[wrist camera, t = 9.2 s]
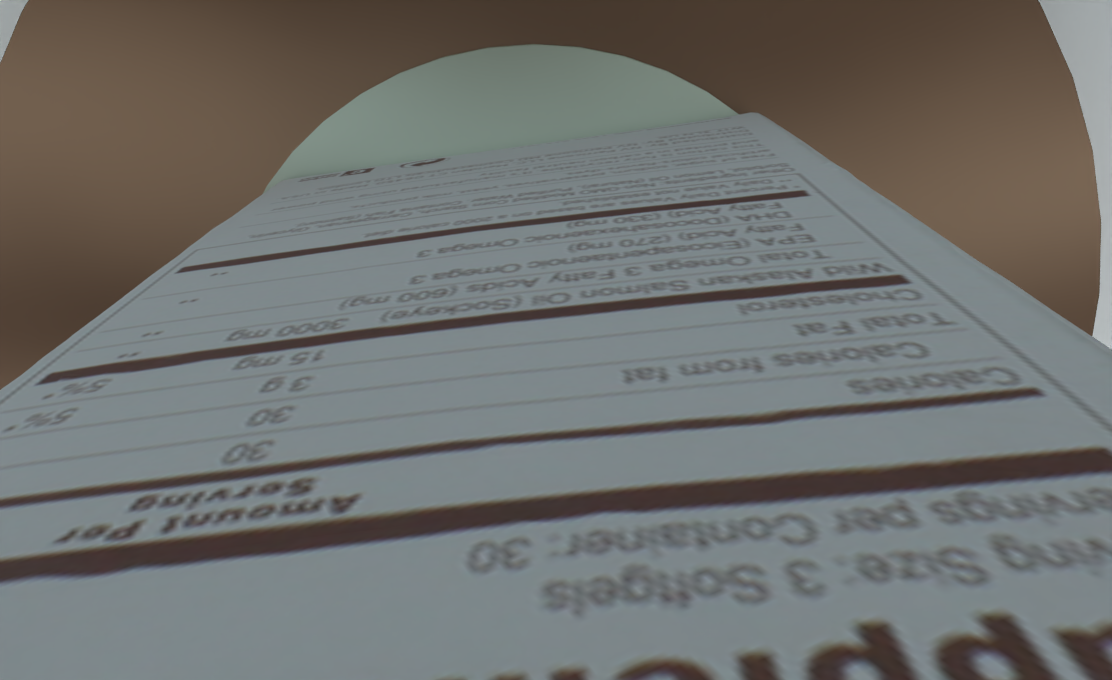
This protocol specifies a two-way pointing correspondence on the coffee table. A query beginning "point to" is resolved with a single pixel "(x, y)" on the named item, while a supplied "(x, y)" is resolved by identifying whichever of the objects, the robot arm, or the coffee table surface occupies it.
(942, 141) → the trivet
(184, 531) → the supplement box
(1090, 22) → the coffee table surface
